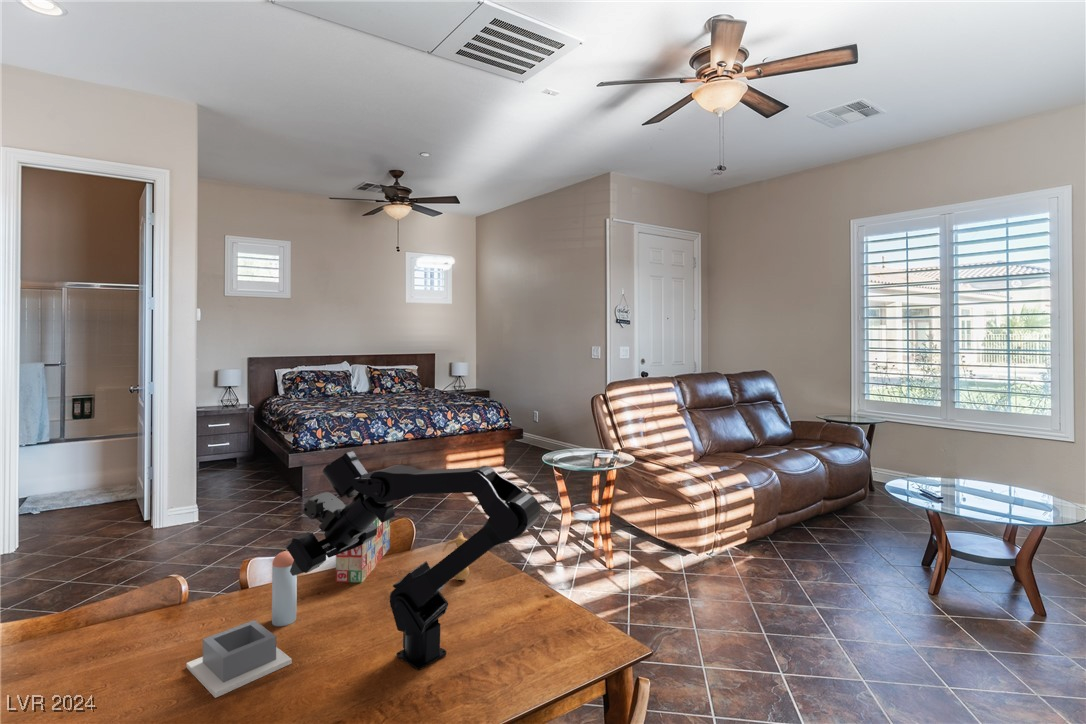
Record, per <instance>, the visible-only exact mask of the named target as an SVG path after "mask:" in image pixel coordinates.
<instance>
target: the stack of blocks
mask: <svg viewBox="0 0 1086 724" xmlns="http://www.w3.org/2000/svg"><path fill="white" fill-rule="evenodd" d="M390 520H391V519H390ZM390 520H387V521H385V522H383V523H382V522H381V521H380V520H379V519H378V518H377V519H376V520H375V521H374V522H373V523H374V525H375V526H376V527H377V535H376V536H375V537H374V538H373V539H372V540H370V541H368V542H366V543H365V544H363V545H361V546H359V547H356V548H354V549H351V550H348V551H346V552H343V553H340V554H338V555H335V583H357V584H358V583H359V584H361V583H363V582H364V581H365V580H366V578H367V577H368V576H369V575H370V574H371V573H372V572H373V570H374V569H375V568H376V566H377V564H379V562H380V560H381V559H382V558H383V557H384V556H385V555H386V553H387V552H389V550H390V548H391V544H390V542H391V540H390V539H391V525H390V522H391V521H390Z"/></svg>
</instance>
